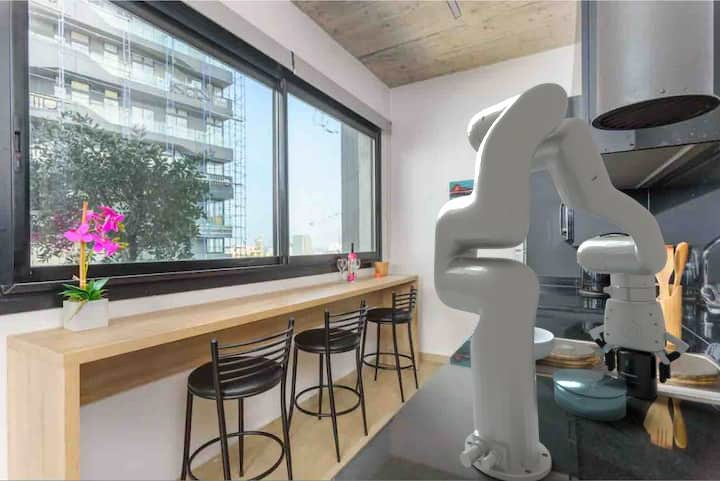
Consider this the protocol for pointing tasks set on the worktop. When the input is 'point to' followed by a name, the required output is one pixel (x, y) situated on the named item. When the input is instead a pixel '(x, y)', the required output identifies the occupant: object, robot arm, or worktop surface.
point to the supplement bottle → (637, 372)
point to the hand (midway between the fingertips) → (636, 374)
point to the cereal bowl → (543, 343)
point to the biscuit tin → (590, 394)
